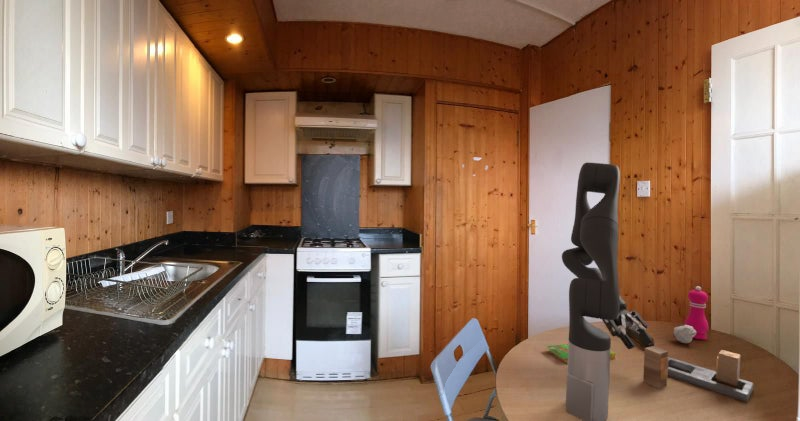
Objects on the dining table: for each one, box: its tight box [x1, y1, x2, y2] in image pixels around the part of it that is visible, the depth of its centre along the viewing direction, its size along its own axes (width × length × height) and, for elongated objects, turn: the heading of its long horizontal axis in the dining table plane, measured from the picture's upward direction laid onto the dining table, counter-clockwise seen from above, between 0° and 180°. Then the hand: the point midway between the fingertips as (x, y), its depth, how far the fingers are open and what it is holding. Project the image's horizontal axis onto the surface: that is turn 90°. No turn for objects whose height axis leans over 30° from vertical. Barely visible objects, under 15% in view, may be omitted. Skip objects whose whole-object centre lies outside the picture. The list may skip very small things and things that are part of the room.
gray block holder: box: [668, 349, 754, 403], centre depth 103 cm, size 20×10×10 cm, turn 38°
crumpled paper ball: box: [673, 324, 696, 344], centre depth 130 cm, size 6×7×7 cm
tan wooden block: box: [642, 345, 669, 389], centre depth 100 cm, size 4×4×10 cm
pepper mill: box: [684, 285, 710, 340], centre depth 136 cm, size 7×7×20 cm
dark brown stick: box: [625, 328, 655, 349], centre depth 131 cm, size 19×4×5 cm, turn 170°
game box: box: [545, 344, 616, 365], centre depth 118 cm, size 3×10×20 cm
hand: (641, 346), depth 104 cm, fingers open, 8 cm apart
